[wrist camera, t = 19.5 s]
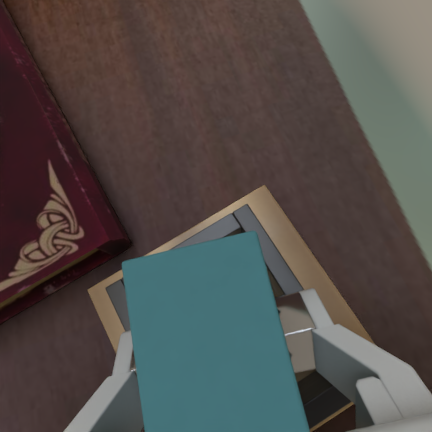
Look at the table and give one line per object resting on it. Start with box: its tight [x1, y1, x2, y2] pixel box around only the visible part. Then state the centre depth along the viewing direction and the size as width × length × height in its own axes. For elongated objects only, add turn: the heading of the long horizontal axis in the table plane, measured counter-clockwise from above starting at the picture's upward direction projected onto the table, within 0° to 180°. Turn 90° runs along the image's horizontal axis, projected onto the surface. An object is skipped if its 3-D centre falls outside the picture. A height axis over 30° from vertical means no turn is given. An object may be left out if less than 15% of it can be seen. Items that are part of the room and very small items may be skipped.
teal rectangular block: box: [122, 231, 310, 432], centre depth 11 cm, size 3×5×10 cm, turn 13°
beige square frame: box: [87, 185, 375, 432], centre depth 15 cm, size 11×11×4 cm
